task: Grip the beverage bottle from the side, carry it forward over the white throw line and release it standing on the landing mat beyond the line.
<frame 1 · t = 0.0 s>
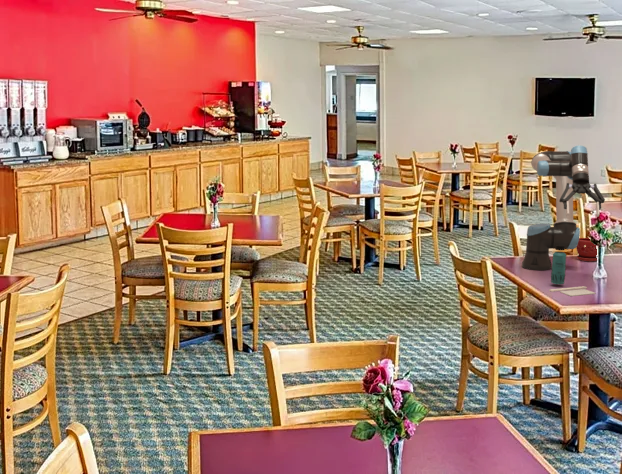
hand: (582, 215, 370), 36 cm above the table, tool tilted 35°, fingers open, 13 cm apart
throw line: (568, 289, 377), on the table
landing mat: (577, 293, 371), on the table
beverage bottle: (557, 286, 385), on the table
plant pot: (587, 260, 445), on the table
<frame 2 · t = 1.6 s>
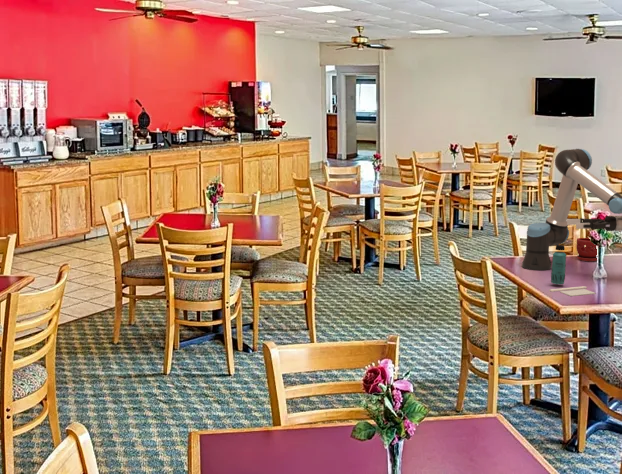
hand: (571, 223, 393), 28 cm above the table, tool horizontal, fingers open, 13 cm apart
nothing on the table moved.
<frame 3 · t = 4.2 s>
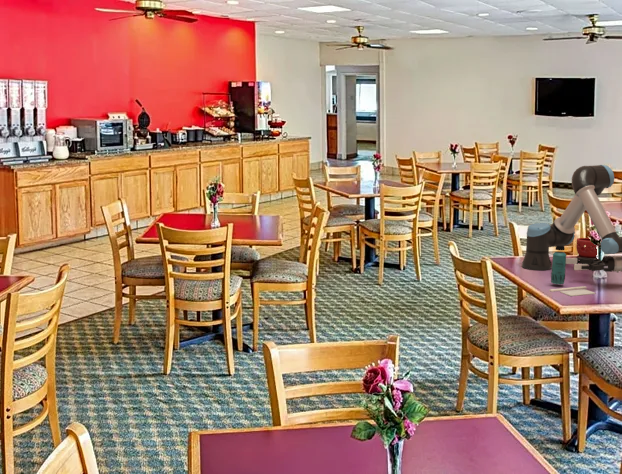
hand: (568, 264, 382), 11 cm above the table, tool horizontal, fingers open, 13 cm apart
nothing on the table moved.
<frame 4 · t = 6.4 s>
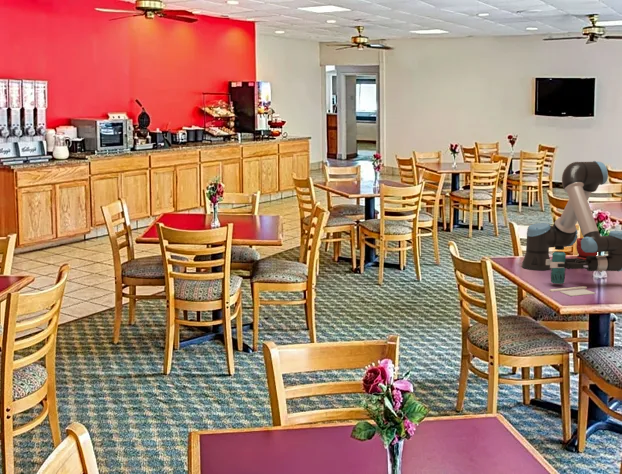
hand: (548, 263, 383), 11 cm above the table, tool horizontal, fingers closed on beverage bottle, 6 cm apart
beverage bottle: (557, 285, 385), on the table, touching gripper
everything else where it was.
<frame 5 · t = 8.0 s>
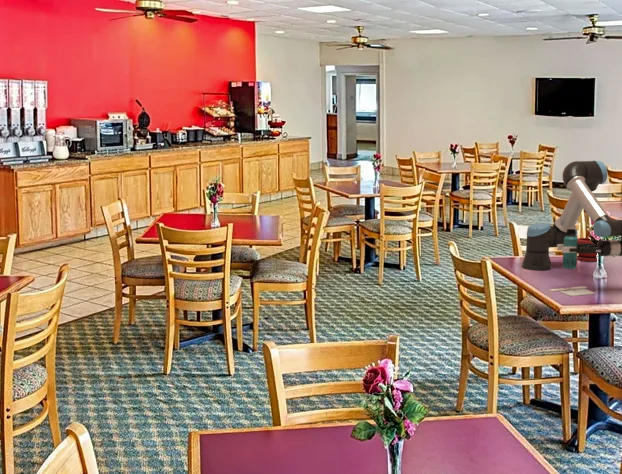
hand: (559, 248, 374), 20 cm above the table, tool horizontal, fingers closed on beverage bottle, 6 cm apart
beverage bottle: (569, 271, 376), point 9 cm above the table, touching gripper
everything else where it was.
when the fingers open (12 cm above the table, at t = 9.9 s): beverage bottle drops 1 cm, resting on landing mat.
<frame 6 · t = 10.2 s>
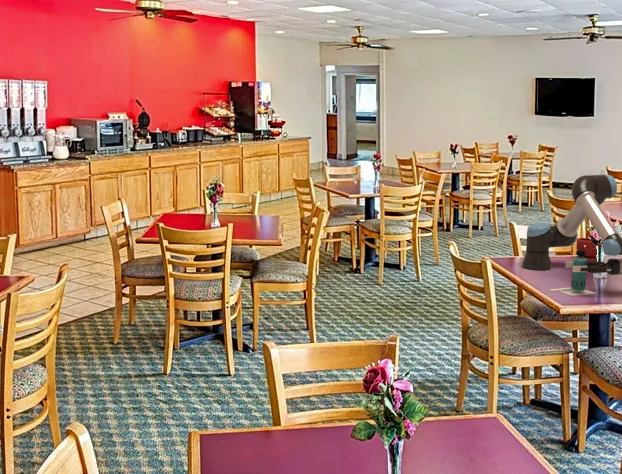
hand: (569, 266, 369), 12 cm above the table, tool horizontal, fingers open, 8 cm apart
beverage bottle: (578, 292, 371), resting on landing mat
everything else where it was.
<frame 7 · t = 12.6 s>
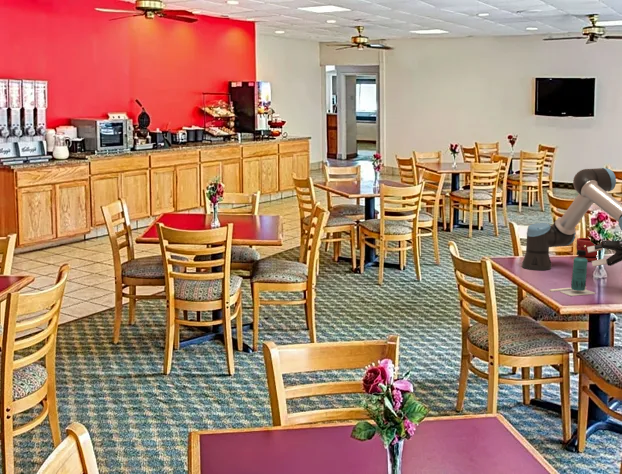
hand: (589, 257, 377), 15 cm above the table, tool tilted 75°, fingers open, 13 cm apart
nothing on the table moved.
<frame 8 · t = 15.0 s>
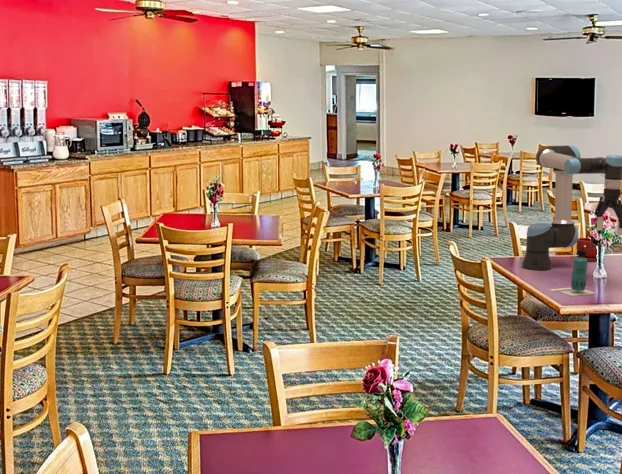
hand: (609, 232, 377), 27 cm above the table, tool pointing down, fingers open, 13 cm apart
nothing on the table moved.
at the end: beverage bottle inside the target area (0.7 cm from its centre), resting on landing mat; beverage bottle tilted 0°; the gripper is holding nothing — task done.
